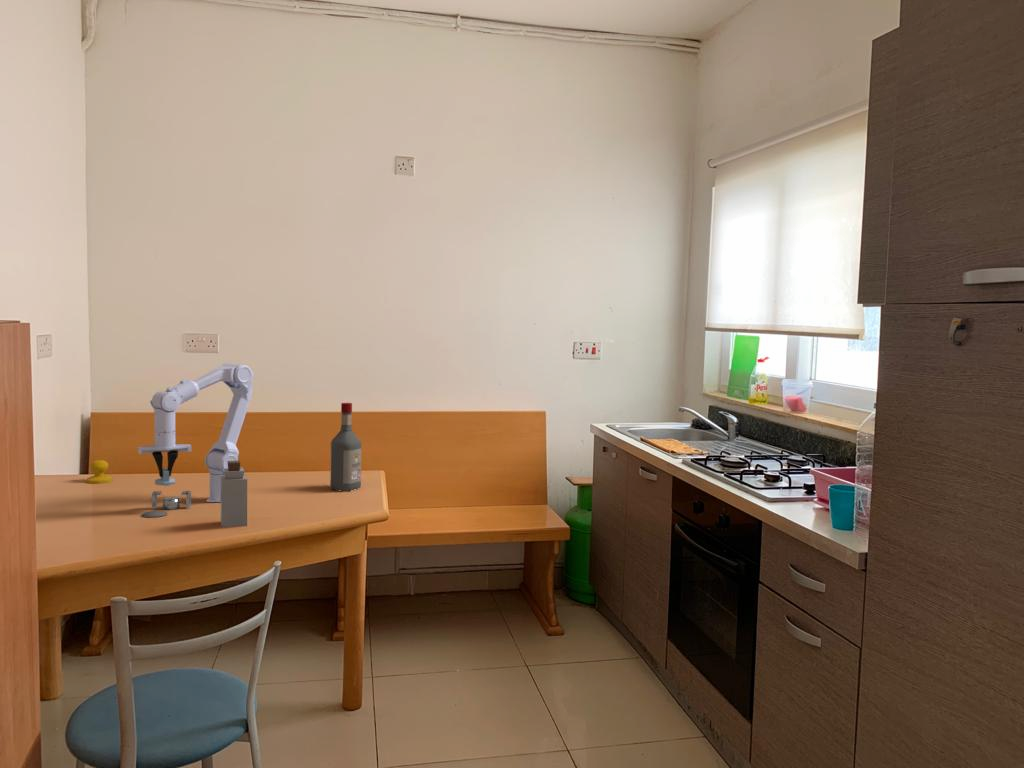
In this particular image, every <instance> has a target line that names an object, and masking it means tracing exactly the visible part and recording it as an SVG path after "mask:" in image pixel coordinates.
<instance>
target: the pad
mask: <svg viewBox="0 0 1024 768" xmlns="http://www.w3.org/2000/svg"><path fill="white" fill-rule="evenodd" d="M168 514H169V513H168V511H164V510H151V511H146V512H143V513H141V517H143V518H147V519H150V518H151V519H152V518H153V519H155V518H161V517H166V516H168Z"/></svg>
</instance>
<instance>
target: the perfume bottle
mask: <svg viewBox="0 0 1024 768" xmlns="http://www.w3.org/2000/svg"><path fill="white" fill-rule="evenodd" d="M227 462H228V468H223V470H224V474H225V476H221V502H220V524H221V528H222V529H223V528H235V527H247V526H248V478H247V475H246V474H245V469H244V467H242V466H241V462H240V460H238V461H227Z"/></svg>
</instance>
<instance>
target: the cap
mask: <svg viewBox="0 0 1024 768" xmlns="http://www.w3.org/2000/svg"><path fill="white" fill-rule="evenodd" d="M162 469H163V477H160V478H156V479H154V484H155V485H156V486H163V487H167V486H168V487H169V486H171V485H174V484H176V478H173V477H170V476H169V471H168V469H167V468H162Z"/></svg>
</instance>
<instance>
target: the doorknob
mask: <svg viewBox="0 0 1024 768" xmlns="http://www.w3.org/2000/svg"><path fill="white" fill-rule="evenodd" d="M89 468H90V470H91V471H92V472H93V474H94V475H93V476H90V477H87V478H86V483H87V484H91V485H92V484H96V485H97V484H106V483H110V482H113V476H110V475H105V473H106V472H107V470H108V468H109V463H108V462H107V461H106V460H104V459H97V460H94V461H92V463H91V464H90V467H89Z"/></svg>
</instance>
